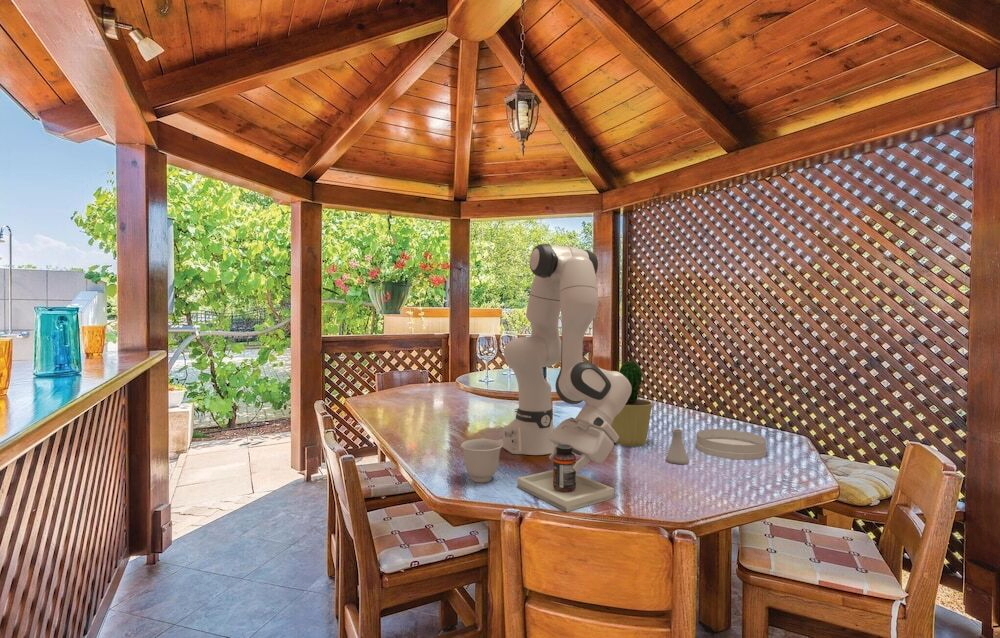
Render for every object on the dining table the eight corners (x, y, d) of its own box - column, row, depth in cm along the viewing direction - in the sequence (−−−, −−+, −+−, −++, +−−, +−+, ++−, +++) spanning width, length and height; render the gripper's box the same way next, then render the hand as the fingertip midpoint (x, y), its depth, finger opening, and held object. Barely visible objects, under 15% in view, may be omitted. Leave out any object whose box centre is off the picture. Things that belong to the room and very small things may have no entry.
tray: (517, 487, 137) (517, 477, 137) (562, 476, 146) (562, 467, 146) (566, 511, 121) (566, 501, 121) (613, 498, 129) (613, 488, 129)
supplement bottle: (551, 485, 136) (551, 443, 136) (572, 484, 136) (573, 442, 136) (555, 493, 130) (555, 449, 130) (578, 492, 131) (578, 448, 130)
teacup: (502, 469, 153) (502, 436, 152) (503, 486, 138) (503, 450, 137) (462, 469, 152) (462, 436, 152) (459, 486, 137) (459, 450, 137)
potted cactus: (631, 450, 173) (632, 362, 172) (599, 440, 186) (599, 359, 185) (661, 443, 181) (662, 360, 181) (628, 434, 194) (629, 356, 194)
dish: (683, 450, 174) (683, 435, 174) (713, 439, 189) (713, 425, 189) (750, 465, 158) (750, 449, 158) (777, 452, 173) (777, 437, 173)
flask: (691, 465, 157) (691, 433, 156) (666, 464, 158) (666, 432, 158) (687, 458, 164) (687, 428, 163) (663, 457, 165) (664, 426, 165)
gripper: (562, 409, 145) (533, 448, 141) (610, 424, 128) (580, 468, 123) (574, 423, 148) (546, 461, 143) (624, 439, 130) (594, 483, 125)
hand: (562, 465), depth 133 cm, fingers open, 8 cm apart
